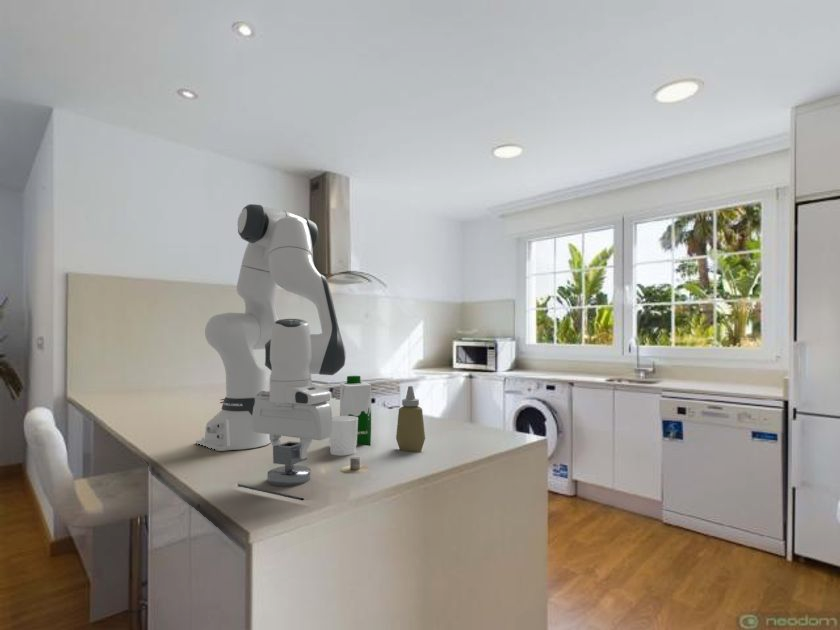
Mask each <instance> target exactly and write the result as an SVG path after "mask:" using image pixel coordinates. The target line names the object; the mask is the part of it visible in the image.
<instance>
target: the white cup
mask: <svg viewBox="0 0 840 630" xmlns="http://www.w3.org/2000/svg"><path fill="white" fill-rule="evenodd" d="M357 433H358V417H355V416H340V415H337V416H332V433H331V435H330V436H329V440H328V441H329V449H330V451H329V452H330V454H331V456H332V455H333V456H351V455H354V454H356V453H357V446H358V445H357Z"/></svg>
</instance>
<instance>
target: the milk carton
mask: <svg viewBox="0 0 840 630" xmlns="http://www.w3.org/2000/svg"><path fill="white" fill-rule="evenodd" d="M339 384H340V385H339V416H355V417H358V433H357V445H356V446H360V445H362V446H368V447H371V445H372V444H371V442H372V441H371V440H372V384H370V383H369V382H364V381H361V376H360V375H347V376H346V382H341V383H339Z"/></svg>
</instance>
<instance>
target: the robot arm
mask: <svg viewBox="0 0 840 630" xmlns="http://www.w3.org/2000/svg"><path fill="white" fill-rule="evenodd" d="M237 233H238V235H239V237H240V238H241V239H242V240H243V241H245V242H247V246H246V248H245V251H244V254H243V258H242V261H241V265H240V269H239V274H238V279H237V283H236V293H237V294H238V295H239V296H240V297H241V298H242V299H243V300H244V301H243V302H244V303H245V304H244V305H245V307H244V308H245V310H244V313H243V312H226V313H224V312H223V313H220V314H215V315H213V316H212V317H210V318H209V320H208V321H207V323H206V325H205V328H204V336H205V339H206V342H207V343H208V344H209V346H210V347H212V348H213V349H214V350H215V351H216V352H217V353H218V355H219V357H220V359H221V362H222V363H223V367H224V371H225V381H226V382H225V386H226V387H225V393H226V394H225V397H224V398H221V399H219V401H220V402H219V404H222V405H221V408H220V411H219V412H218V413H217V414H216V415H214V416H213V417H212V418H211V419H210V420H208V421H207V422H206V426H205V428H204V429H205V431H204V437H200V438H199V439H198V438H197V440H195V444H196V443H197V444H196V445H198V444H200V445H199V446H201V445H203V446H202V447H204V446H206V447H205V448H207V447H208V448H209V449H211V448H212V449H211V450H214V449H215V450H214V451H217V452H223V451H224V452H225V451H233V450H236V451H237V450H249V449H255V448H260V447H264V446H267V445H269V444H270V443H271V447H273V446H276V445H279V444H282V442H281V437H282V436H283V437H289V438H296V439H298V438H299V439H300V440H299V442H300V443H302V446H301V448H300V450H297V451H296V454H297V456H296V457H297V458H298V459H305V458H306V457H307V458H308V450H309V447H310V445H311V444H312V442H313V441H323V440H325V439H328V438H329V436H330V435H331V433H332V417H333V413H332V407H331V405H330V404H329V403H328V402H329V401H330V400H331V392H330V391H329V390H326V389H325V388H323V387H320V386H319V385H317V384H315V383H312V375H322V376H323V375H324V376H333V375H336V374H337V373H338V372H339V371H340V370H341V369H342V368H343V367H344V366H345V363H346V358H347V357H346V355H347V354H346V353H347V352H346V347H345V345H344V341H343V338H342V335H341V331H340V328H339V324H338V319H337V318H338V317H337V315H336V309H335V306H334V305H335V304H334V301H333V300H334V299H333V297H332V293H331V288H330V285H329V282H328V280H327V278H326V276H325V275H323V274H321V273H320V272H319V271H318V269H317V268H316V266H315V263H314V253H313V252H314V249H315V247H316V246H317V243H318V239H319V228H318V226H317V224H316V223H315V222H314V221H312V220H310V219H309V218H308V217H303V216H299V215H297V214H294V213H292V212H290V211H285V210H280V209H277V208H273V207H267V206H266V207H265V206H262V205H261V204H256V203H255V204H253V203H252V204H247V205H246V206H244V207H243V208H242V210H241V211H240V213H239V216H238V218H237ZM278 286H279V287H280V288H281V289H283V290H285V291H286V292H289V293H291V294H294V295H298V296H300V297H302V298H305V299H307V300H309V301H310V302H312V303H313V304H314V305H315V307H316V311H317V314H318V318H319V324H320V329H321V333H318V334H317V333H316V334H315V333H313V334H312V333H311V331H310V325H309V322H308V321H306V320H304V319H300V318H299V319H298V318H284V319H283V318H281V319H280V318H279V317H278V314H277V310H276V294H277V290H278ZM254 350H264V351H265V352H264V353H265V361H264V366H265V367H267V369H269V370H270V371H271V373H270V374H269V375H270V376H269V391H267V390H266V389H267V387H266V385H267V384H266V382H267V379H266V376H267V373H266V369H265V367H264V366H263V365H262V364H260V363H259V362H258V361H257V360H256V359H257V358H256V356H255V354H254ZM312 440H313V441H312ZM208 448H207V449H208Z"/></svg>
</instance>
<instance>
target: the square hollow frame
mask: <svg viewBox="0 0 840 630" xmlns="http://www.w3.org/2000/svg"><path fill="white" fill-rule="evenodd" d="M301 446H302V443H300V441H299V442H298V441H287V442H283V443H282V442H281V444H279V445H276V446H272V462H273V464H274V465H283V466H285V465H293V464H294V465H297V464H299V463H301V462H303V461H307V460H308V456H307V457H306V458H305V459H298V458H297V457H296V456H297V454H296V451H297V450H300V448H301Z"/></svg>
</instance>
